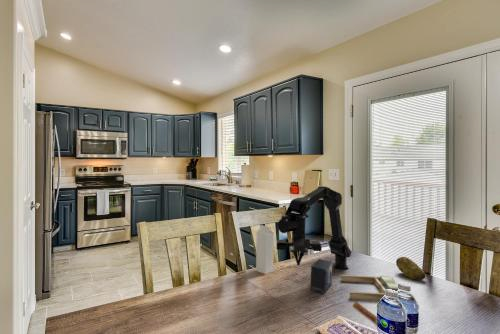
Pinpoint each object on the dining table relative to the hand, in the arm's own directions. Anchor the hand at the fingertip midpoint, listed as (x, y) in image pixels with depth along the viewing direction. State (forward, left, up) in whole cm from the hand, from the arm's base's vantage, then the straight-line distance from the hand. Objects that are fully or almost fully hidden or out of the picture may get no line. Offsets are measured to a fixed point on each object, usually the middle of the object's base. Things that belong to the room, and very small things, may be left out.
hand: (298, 264), depth 125 cm
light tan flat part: (0, +31, -9) cm, 32 cm away
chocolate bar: (+19, +23, -10) cm, 31 cm away
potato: (-17, +53, -10) cm, 56 cm away
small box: (0, +10, -10) cm, 14 cm away
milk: (-15, -15, -10) cm, 23 cm away
